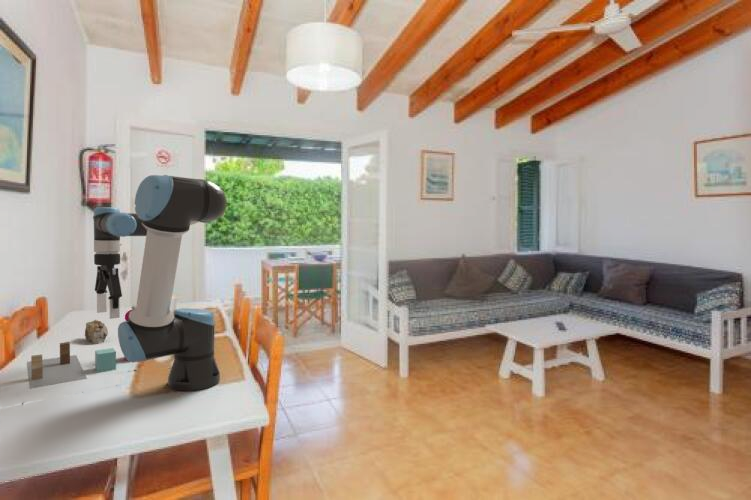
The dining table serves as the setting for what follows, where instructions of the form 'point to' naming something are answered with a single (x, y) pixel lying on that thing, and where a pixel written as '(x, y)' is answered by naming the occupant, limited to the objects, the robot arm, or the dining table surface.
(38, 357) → the post beech
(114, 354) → the mint green foam cube
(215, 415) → the dining table surface
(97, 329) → the rock
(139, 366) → the dining table surface
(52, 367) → the stand
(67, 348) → the post walnut
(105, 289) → the robot arm
